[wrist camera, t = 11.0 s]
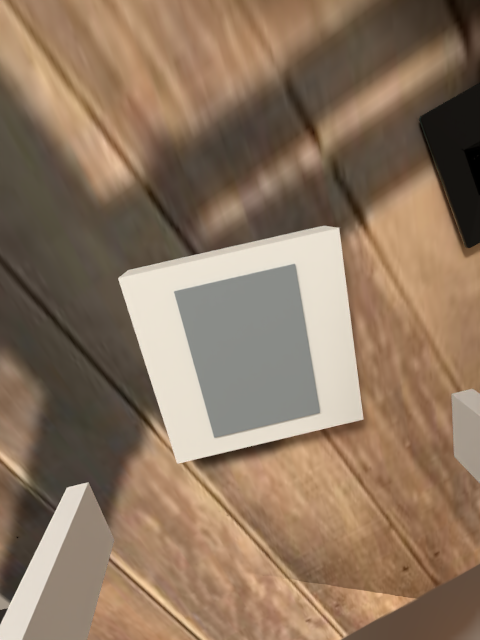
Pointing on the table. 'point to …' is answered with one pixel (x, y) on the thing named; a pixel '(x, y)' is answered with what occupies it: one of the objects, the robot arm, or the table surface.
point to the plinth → (248, 342)
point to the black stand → (458, 157)
